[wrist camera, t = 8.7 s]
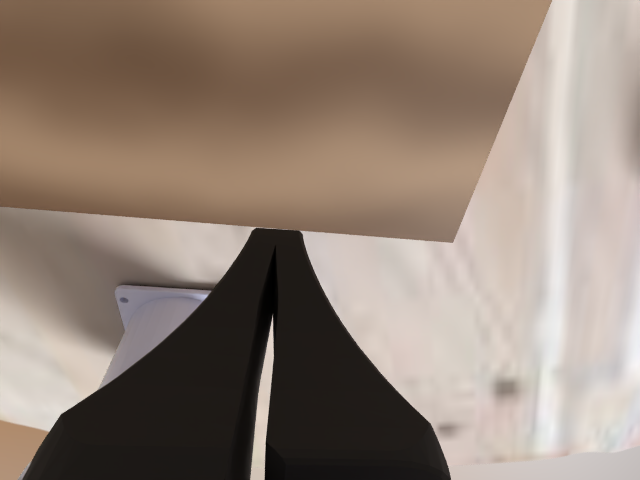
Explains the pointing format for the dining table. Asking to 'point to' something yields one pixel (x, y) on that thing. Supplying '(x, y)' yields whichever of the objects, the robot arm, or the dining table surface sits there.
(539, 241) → the dining table surface
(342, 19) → the brown wooden block
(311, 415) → the robot arm
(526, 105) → the dining table surface
